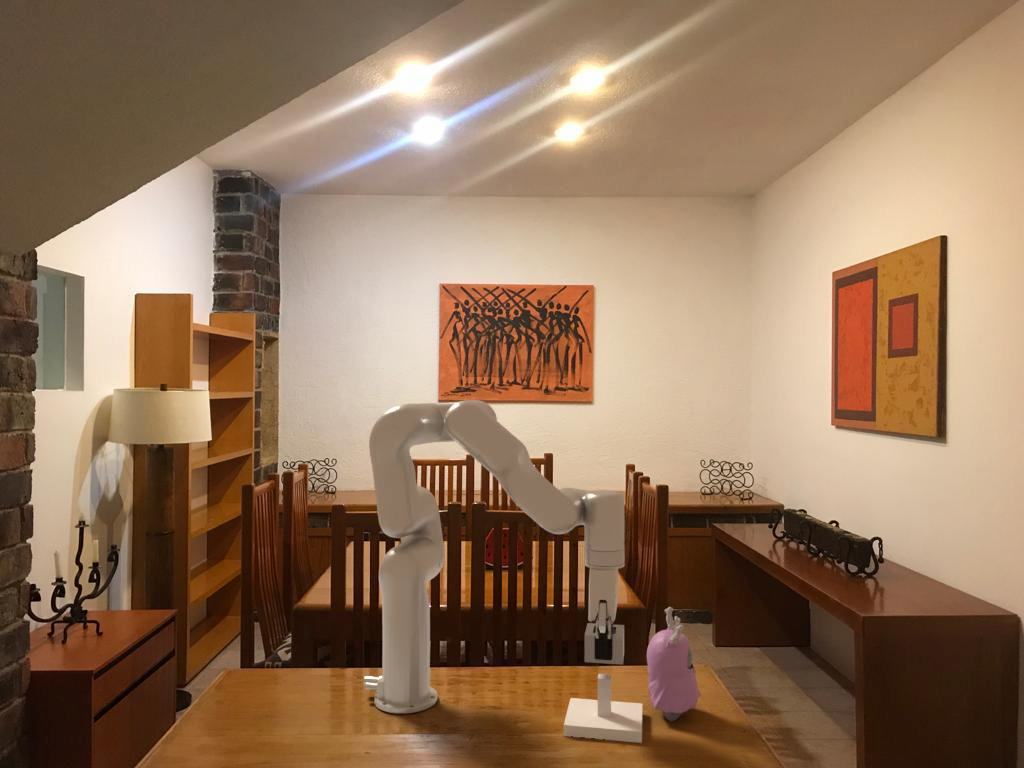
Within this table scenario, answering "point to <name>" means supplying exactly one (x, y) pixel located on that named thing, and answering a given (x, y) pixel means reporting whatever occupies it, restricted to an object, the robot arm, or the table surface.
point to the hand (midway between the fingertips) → (604, 651)
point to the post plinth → (604, 716)
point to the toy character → (671, 671)
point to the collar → (617, 644)
